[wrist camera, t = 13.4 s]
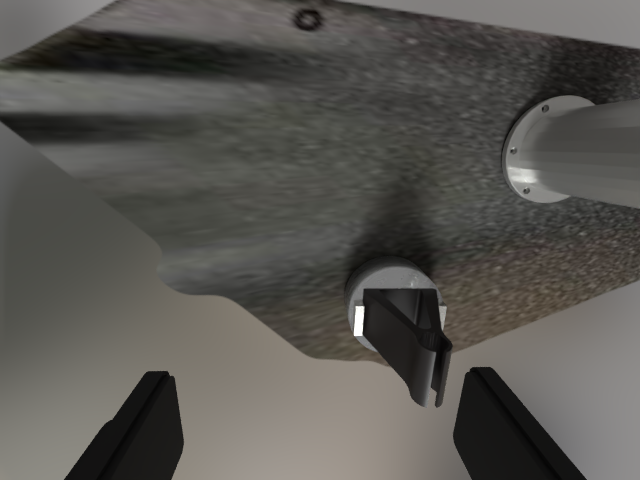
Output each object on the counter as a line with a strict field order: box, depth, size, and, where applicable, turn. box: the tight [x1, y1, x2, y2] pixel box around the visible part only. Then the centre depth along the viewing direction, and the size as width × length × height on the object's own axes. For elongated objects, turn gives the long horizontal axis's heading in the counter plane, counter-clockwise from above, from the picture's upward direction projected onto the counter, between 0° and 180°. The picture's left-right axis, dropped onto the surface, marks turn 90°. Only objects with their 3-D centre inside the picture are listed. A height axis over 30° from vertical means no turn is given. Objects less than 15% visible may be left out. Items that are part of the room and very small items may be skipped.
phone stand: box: [362, 288, 453, 408], centre depth 32 cm, size 9×6×12 cm, turn 88°
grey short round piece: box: [344, 256, 447, 352], centre depth 40 cm, size 12×12×7 cm
